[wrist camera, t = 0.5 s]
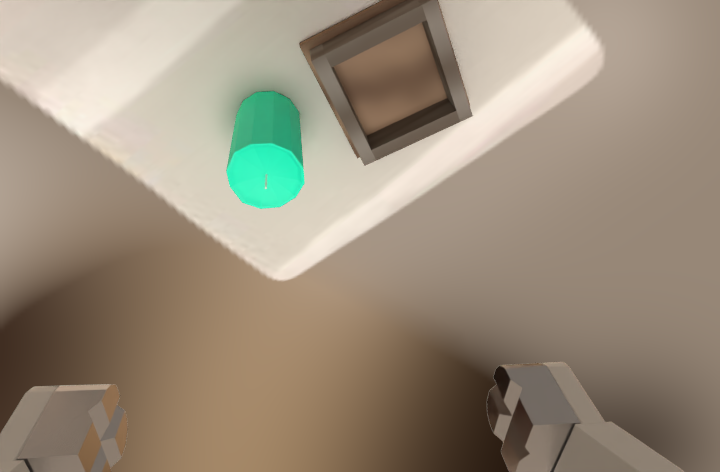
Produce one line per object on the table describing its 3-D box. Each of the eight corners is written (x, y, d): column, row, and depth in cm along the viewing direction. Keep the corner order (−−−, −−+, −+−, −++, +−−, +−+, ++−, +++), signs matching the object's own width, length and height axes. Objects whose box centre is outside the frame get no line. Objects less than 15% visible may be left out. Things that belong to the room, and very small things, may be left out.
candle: (288, 82, 42) (290, 141, 33) (309, 139, 46) (316, 208, 37) (225, 101, 43) (210, 165, 33) (251, 157, 46) (244, 229, 37)
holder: (299, 43, 41) (301, 57, 37) (428, -24, 39) (441, -15, 36) (356, 153, 48) (361, 173, 45) (466, 101, 46) (480, 118, 43)
